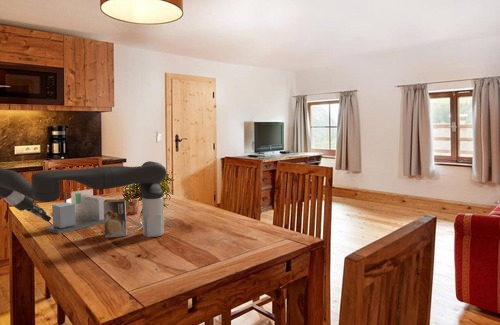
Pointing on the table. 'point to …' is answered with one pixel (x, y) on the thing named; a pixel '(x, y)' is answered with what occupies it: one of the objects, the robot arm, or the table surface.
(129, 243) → the table surface
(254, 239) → the table surface
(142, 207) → the robot arm
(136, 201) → the smoothie
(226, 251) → the table surface
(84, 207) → the stand
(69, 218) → the grey box
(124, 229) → the coffee box
